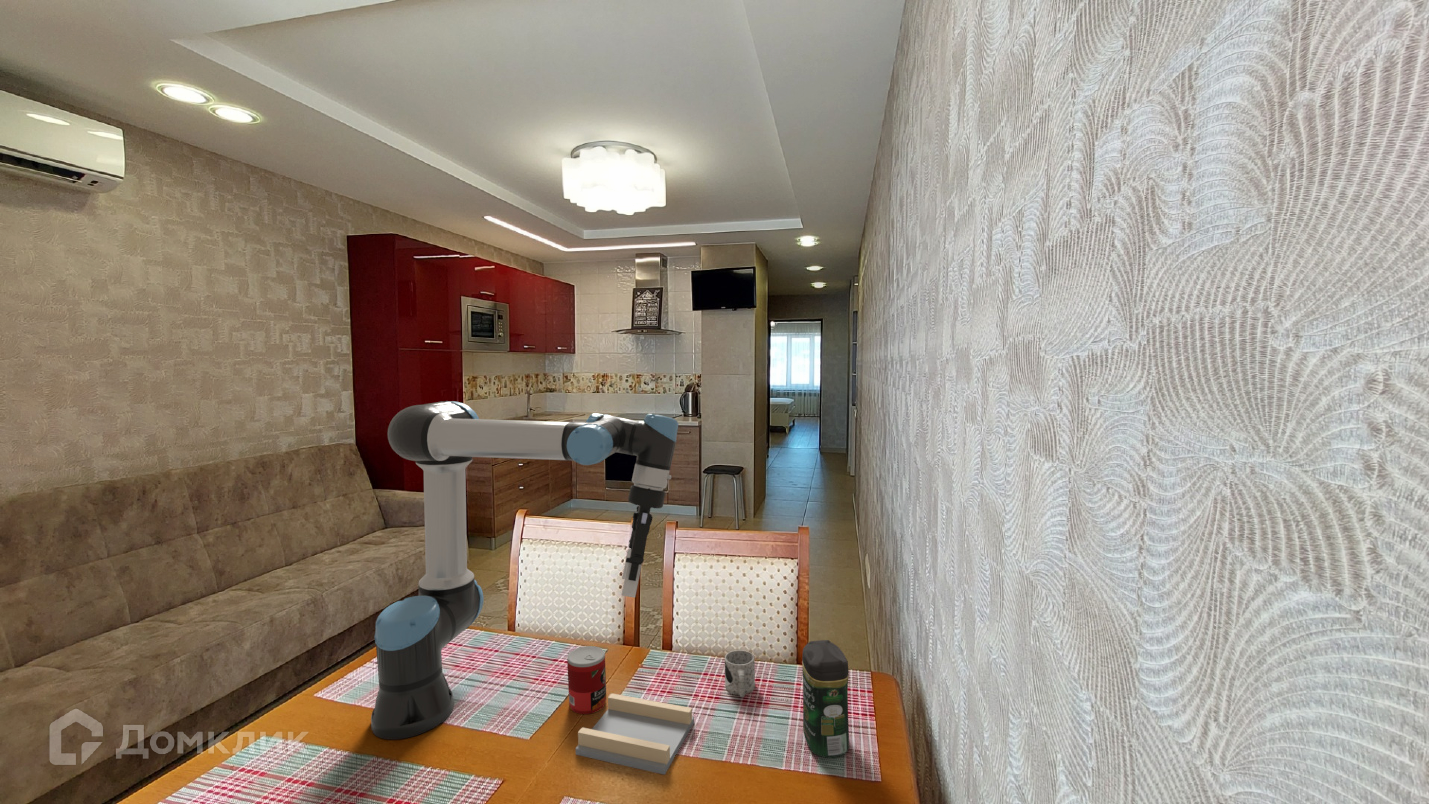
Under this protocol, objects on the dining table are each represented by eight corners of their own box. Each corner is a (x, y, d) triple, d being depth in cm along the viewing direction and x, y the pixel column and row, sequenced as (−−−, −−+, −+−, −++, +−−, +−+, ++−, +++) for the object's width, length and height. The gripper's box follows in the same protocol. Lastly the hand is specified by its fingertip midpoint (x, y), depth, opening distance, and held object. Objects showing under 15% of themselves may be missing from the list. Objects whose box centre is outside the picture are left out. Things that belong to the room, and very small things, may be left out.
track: (575, 754, 106) (575, 735, 105) (614, 707, 120) (613, 690, 120) (664, 774, 100) (664, 754, 100) (694, 722, 114) (693, 705, 114)
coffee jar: (798, 728, 112) (797, 637, 111) (837, 724, 113) (836, 634, 111) (812, 762, 102) (811, 663, 101) (854, 758, 103) (854, 660, 102)
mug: (724, 678, 130) (723, 650, 130) (753, 677, 130) (752, 649, 130) (726, 704, 120) (726, 674, 120) (758, 703, 120) (757, 673, 120)
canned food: (598, 717, 117) (596, 665, 116) (562, 713, 118) (560, 662, 118) (612, 695, 124) (610, 647, 123) (578, 692, 126) (576, 644, 125)
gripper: (670, 495, 109) (648, 607, 107) (662, 485, 134) (644, 576, 132) (631, 488, 108) (608, 601, 106) (630, 479, 133) (611, 571, 131)
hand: (628, 587), depth 119 cm, fingers open, 13 cm apart
